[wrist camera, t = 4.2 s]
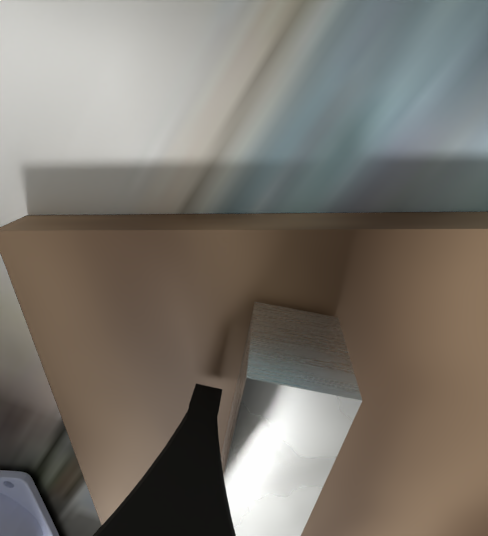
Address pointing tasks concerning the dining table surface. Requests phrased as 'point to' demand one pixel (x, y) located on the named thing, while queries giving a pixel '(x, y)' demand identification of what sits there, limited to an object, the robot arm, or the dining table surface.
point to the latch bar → (286, 419)
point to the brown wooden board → (235, 334)
